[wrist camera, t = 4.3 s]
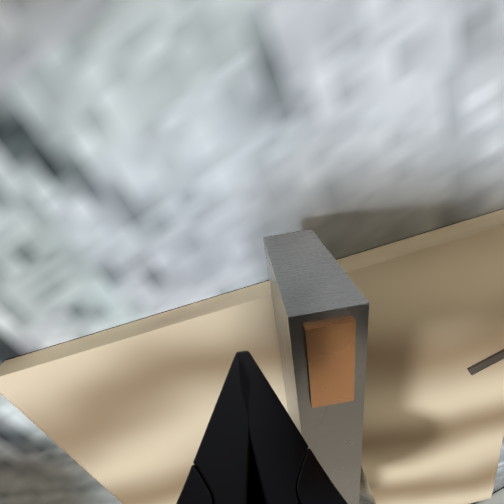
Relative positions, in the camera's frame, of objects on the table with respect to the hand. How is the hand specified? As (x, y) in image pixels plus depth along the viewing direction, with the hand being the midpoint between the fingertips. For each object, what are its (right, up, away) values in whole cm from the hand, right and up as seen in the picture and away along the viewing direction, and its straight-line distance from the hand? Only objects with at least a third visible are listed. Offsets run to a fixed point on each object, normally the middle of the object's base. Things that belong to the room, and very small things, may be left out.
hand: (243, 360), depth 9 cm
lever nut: (+3, -4, +4) cm, 7 cm away
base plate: (+3, -7, +7) cm, 11 cm away
